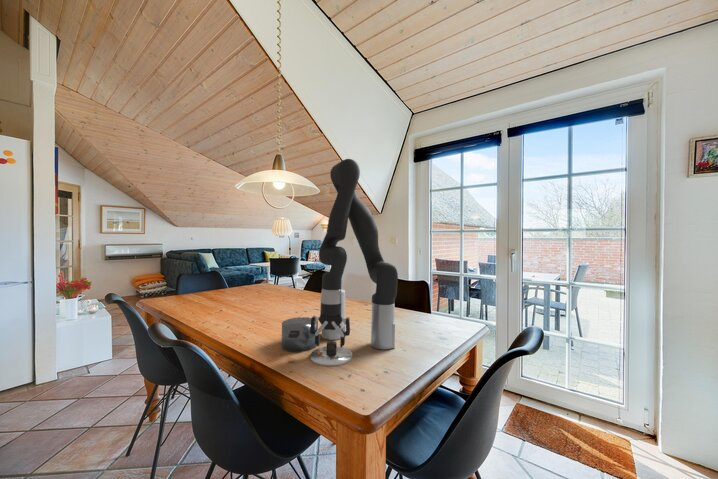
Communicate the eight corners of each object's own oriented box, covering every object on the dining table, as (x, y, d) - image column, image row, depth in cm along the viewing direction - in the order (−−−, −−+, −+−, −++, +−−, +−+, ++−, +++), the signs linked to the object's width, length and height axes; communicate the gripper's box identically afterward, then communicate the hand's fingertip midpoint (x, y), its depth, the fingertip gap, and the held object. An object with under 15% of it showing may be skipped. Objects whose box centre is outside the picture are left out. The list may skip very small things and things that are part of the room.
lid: (352, 349, 108) (352, 336, 108) (351, 367, 93) (351, 351, 93) (313, 349, 108) (314, 335, 108) (306, 366, 93) (307, 350, 93)
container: (316, 336, 121) (317, 290, 121) (334, 330, 129) (334, 287, 129) (332, 342, 115) (332, 293, 114) (349, 336, 122) (350, 290, 122)
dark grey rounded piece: (289, 335, 122) (290, 314, 122) (321, 336, 121) (321, 315, 121) (273, 355, 101) (273, 330, 101) (311, 356, 100) (312, 331, 100)
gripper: (351, 299, 104) (350, 343, 104) (314, 298, 105) (312, 341, 105) (349, 304, 97) (348, 351, 97) (309, 302, 98) (307, 348, 97)
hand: (329, 346), depth 101 cm, fingers open, 8 cm apart
